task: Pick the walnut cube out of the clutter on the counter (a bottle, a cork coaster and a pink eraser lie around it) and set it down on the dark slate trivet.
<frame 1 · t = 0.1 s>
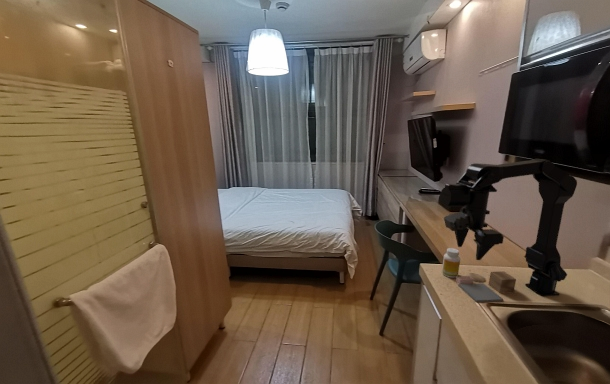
hand: (468, 253, 87), 15 cm above the worktop, tool pointing down, fingers open, 9 cm apart
supplement bottle: (449, 274, 102), on the worktop
pink eraser: (464, 282, 97), on the worktop
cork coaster: (475, 278, 100), on the worktop
walnut block: (500, 288, 93), on the worktop
slate trivet: (479, 292, 91), on the worktop
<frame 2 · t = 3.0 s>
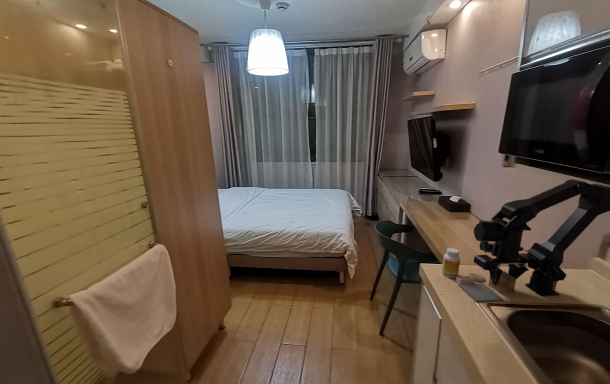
hand: (501, 284, 93), 2 cm above the worktop, tool pointing down, fingers closed on walnut block, 5 cm apart
walnut block: (500, 288, 93), on the worktop, touching gripper
everything else where it was.
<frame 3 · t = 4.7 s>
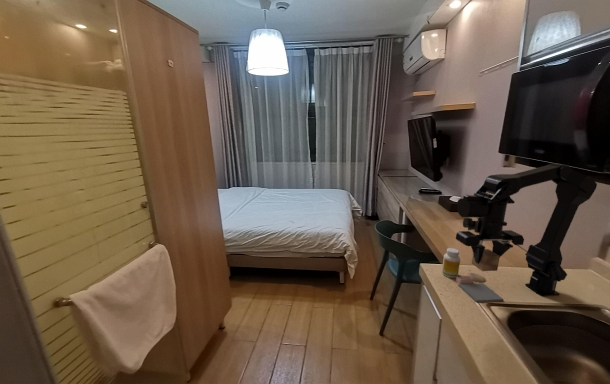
hand: (484, 262, 88), 11 cm above the worktop, tool pointing down, fingers closed on walnut block, 5 cm apart
walnut block: (484, 266, 89), point 9 cm above the worktop, touching gripper
everything else where it was.
when the fingers open (3 cm above the worktop, at t = 6.5 s): walnut block drops 1 cm, resting on slate trivet.
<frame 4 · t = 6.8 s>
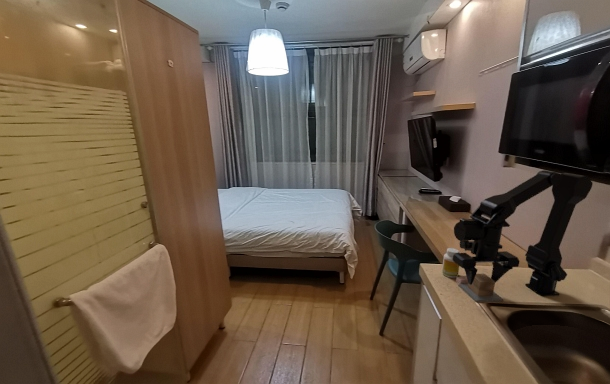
hand: (481, 283, 90), 3 cm above the worktop, tool pointing down, fingers open, 8 cm apart
walnut block: (480, 291, 91), point 1 cm above the worktop, touching slate trivet
everything else where it was.
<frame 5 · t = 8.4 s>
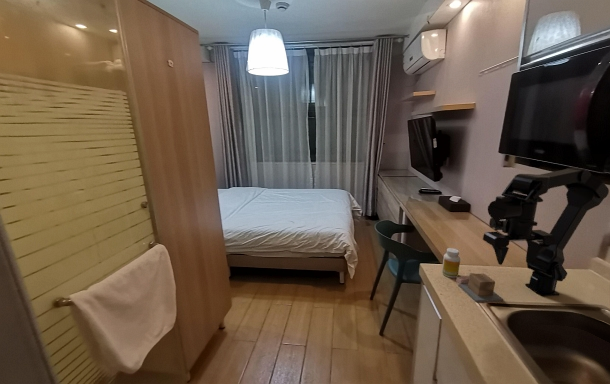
hand: (513, 263, 86), 12 cm above the worktop, tool pointing down, fingers open, 9 cm apart
nothing on the worktop moved.
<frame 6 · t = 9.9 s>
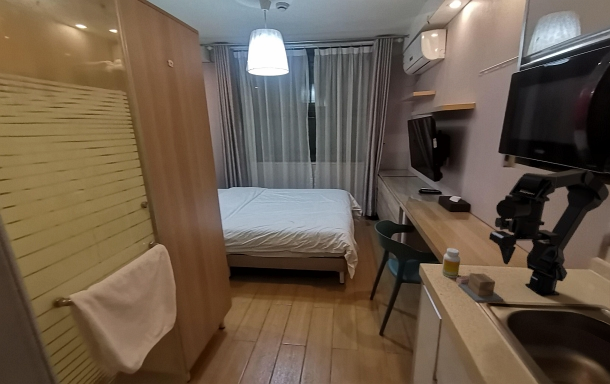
hand: (519, 263, 86), 12 cm above the worktop, tool pointing down, fingers open, 9 cm apart
nothing on the worktop moved.
at the end: walnut block inside the target area on the slate trivet (0.0 cm from its centre), point 0.6 cm above the slate trivet's base; walnut block tilted 0°; the gripper is holding nothing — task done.
